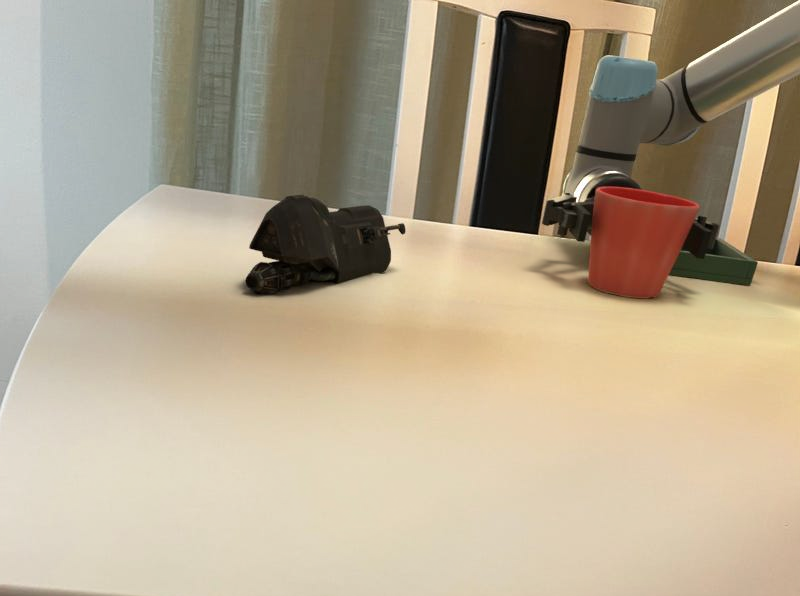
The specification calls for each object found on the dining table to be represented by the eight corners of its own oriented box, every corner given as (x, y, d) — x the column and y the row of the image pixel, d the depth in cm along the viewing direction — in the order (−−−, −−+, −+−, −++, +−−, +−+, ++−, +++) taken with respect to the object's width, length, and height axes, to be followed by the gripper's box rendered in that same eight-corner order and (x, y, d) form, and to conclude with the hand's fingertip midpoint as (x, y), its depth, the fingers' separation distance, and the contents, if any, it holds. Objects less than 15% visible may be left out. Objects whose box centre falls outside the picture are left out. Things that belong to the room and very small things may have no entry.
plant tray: (714, 260, 137) (720, 238, 135) (750, 285, 123) (758, 262, 121) (593, 243, 137) (599, 221, 135) (615, 267, 123) (622, 243, 121)
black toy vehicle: (399, 277, 106) (412, 194, 102) (284, 307, 86) (294, 205, 82) (342, 264, 108) (353, 182, 104) (216, 290, 89) (224, 191, 84)
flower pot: (685, 307, 107) (714, 209, 102) (584, 294, 106) (608, 196, 101) (659, 285, 116) (684, 194, 111) (565, 274, 115) (586, 182, 110)
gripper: (696, 251, 125) (746, 289, 107) (504, 224, 125) (521, 257, 107) (716, 186, 121) (771, 214, 103) (517, 158, 121) (537, 181, 103)
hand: (644, 236), depth 105 cm, fingers open, 12 cm apart
